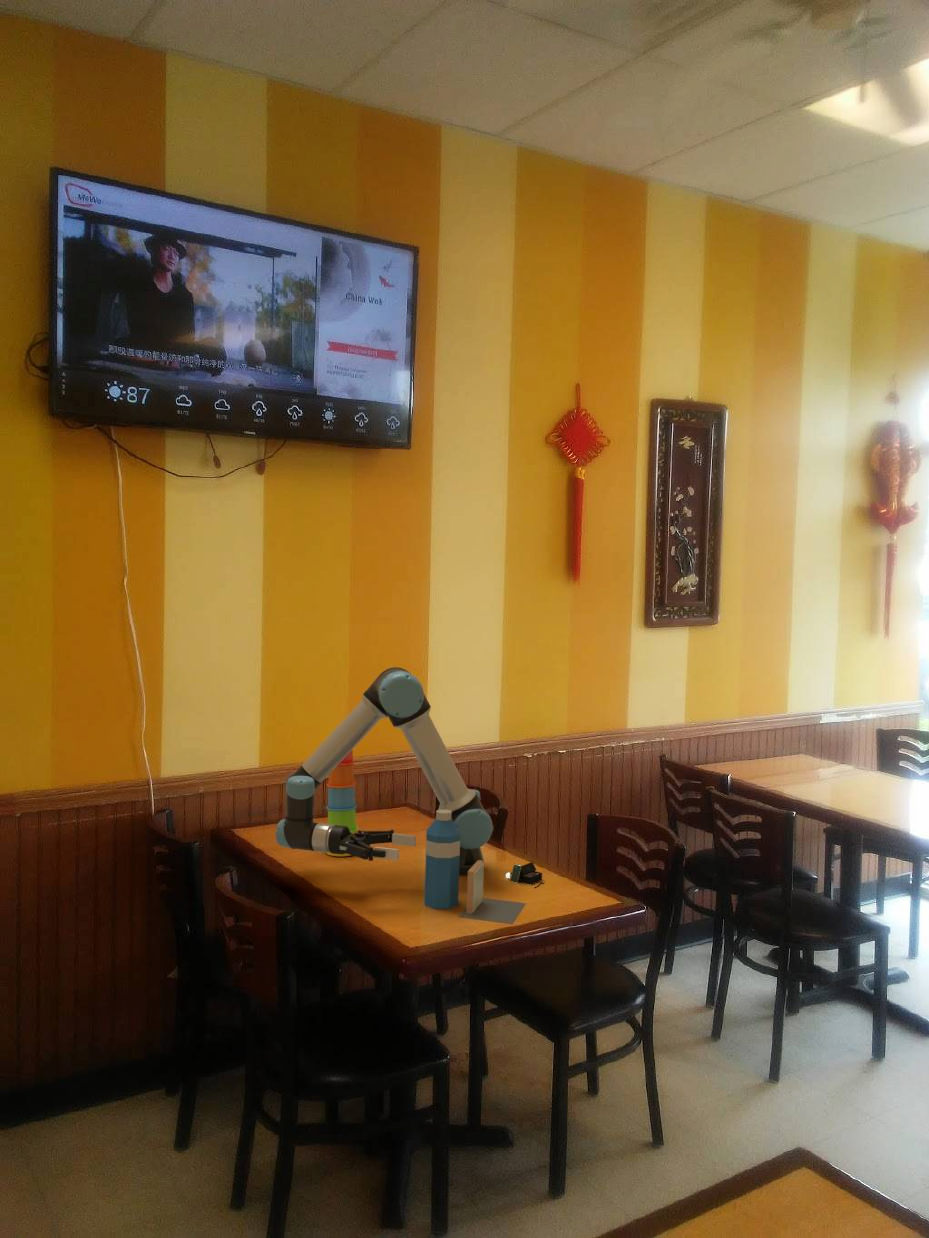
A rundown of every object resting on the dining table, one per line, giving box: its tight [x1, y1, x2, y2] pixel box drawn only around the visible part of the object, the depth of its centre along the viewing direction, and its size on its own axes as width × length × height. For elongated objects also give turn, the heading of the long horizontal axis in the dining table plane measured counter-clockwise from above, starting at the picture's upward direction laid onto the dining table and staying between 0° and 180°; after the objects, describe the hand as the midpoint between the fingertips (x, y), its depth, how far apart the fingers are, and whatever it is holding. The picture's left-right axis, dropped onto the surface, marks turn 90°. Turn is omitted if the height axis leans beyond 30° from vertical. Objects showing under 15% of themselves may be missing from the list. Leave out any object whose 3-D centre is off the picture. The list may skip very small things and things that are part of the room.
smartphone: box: [505, 861, 545, 889], centre depth 290 cm, size 15×15×6 cm
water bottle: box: [423, 809, 460, 910], centre depth 267 cm, size 9×9×25 cm
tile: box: [466, 860, 485, 914], centre depth 265 cm, size 10×2×11 cm, turn 164°
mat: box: [458, 897, 527, 925], centre depth 264 cm, size 16×14×1 cm
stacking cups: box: [325, 748, 359, 857], centre depth 310 cm, size 10×10×35 cm
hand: (407, 847), depth 269 cm, fingers open, 13 cm apart
